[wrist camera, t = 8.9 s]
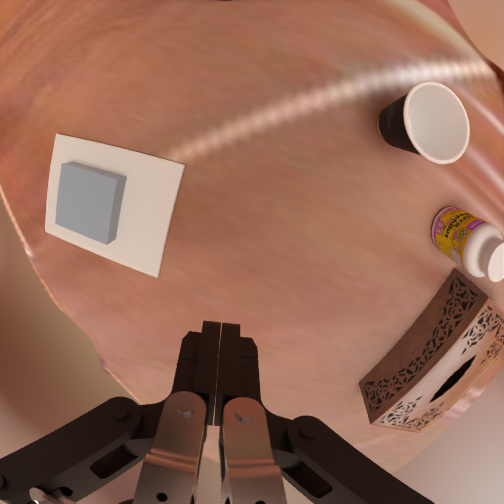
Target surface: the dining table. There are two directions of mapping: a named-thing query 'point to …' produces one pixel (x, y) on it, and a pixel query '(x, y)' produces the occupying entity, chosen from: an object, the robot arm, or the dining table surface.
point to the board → (133, 203)
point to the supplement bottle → (470, 243)
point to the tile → (89, 201)
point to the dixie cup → (427, 123)
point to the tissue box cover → (435, 358)
